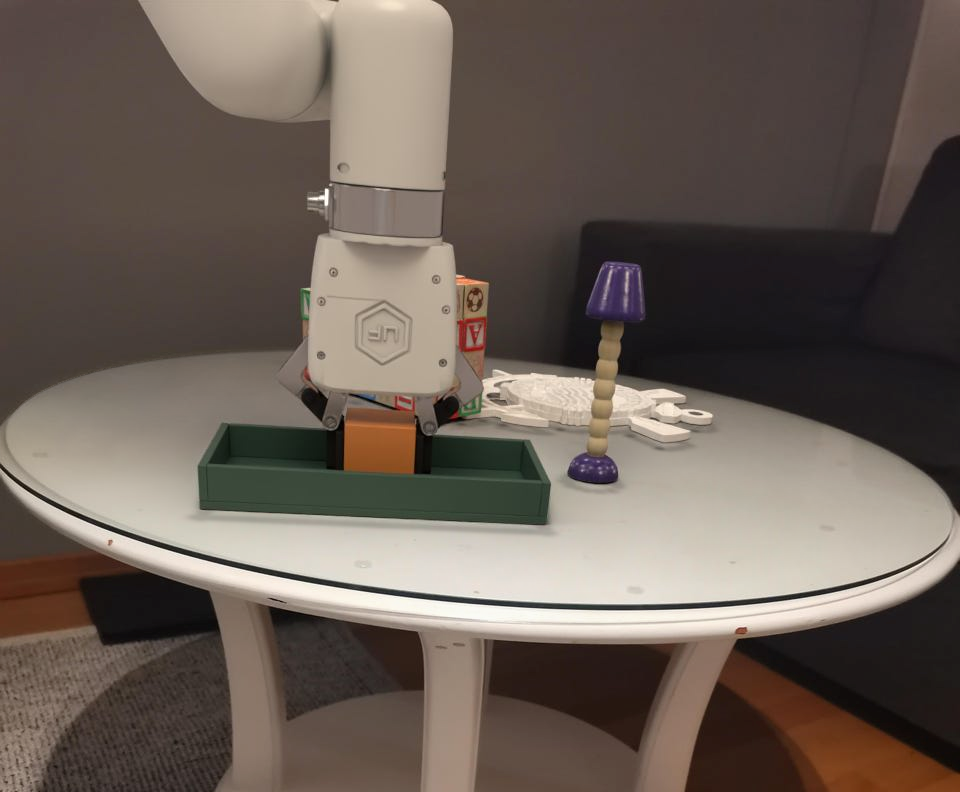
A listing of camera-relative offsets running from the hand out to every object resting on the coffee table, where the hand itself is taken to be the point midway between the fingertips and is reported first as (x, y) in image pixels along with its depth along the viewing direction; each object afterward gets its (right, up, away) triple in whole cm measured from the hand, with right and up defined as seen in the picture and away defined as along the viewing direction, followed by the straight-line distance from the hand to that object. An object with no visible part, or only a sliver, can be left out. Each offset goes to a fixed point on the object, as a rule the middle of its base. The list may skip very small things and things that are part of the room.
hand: (378, 478), depth 73 cm
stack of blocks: (-2, +13, +27) cm, 30 cm away
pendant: (+18, +13, +30) cm, 37 cm away
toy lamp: (+17, +2, +9) cm, 19 cm away
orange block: (0, 0, 0) cm, 0 cm away
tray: (0, -1, 0) cm, 1 cm away
